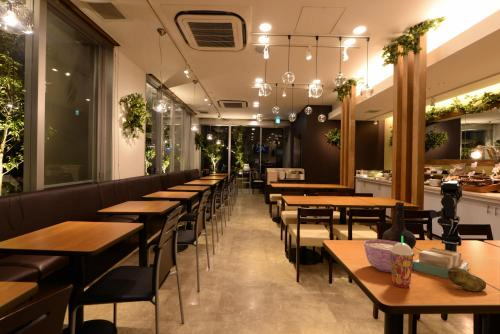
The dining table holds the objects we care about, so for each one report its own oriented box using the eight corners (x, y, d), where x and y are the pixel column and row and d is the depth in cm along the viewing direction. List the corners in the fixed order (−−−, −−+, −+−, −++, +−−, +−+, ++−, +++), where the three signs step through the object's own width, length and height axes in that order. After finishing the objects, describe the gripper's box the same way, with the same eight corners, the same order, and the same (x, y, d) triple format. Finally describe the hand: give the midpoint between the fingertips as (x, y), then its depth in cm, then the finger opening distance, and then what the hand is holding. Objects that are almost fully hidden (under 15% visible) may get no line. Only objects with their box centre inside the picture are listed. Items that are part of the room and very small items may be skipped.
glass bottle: (396, 255, 167) (397, 204, 167) (375, 247, 185) (376, 200, 184) (423, 254, 171) (424, 204, 171) (400, 245, 189) (401, 200, 189)
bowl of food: (418, 276, 135) (419, 250, 135) (375, 276, 134) (375, 250, 133) (394, 262, 155) (395, 239, 155) (356, 262, 153) (356, 239, 153)
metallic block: (433, 264, 154) (433, 247, 154) (460, 271, 145) (461, 253, 145) (418, 270, 145) (419, 252, 145) (446, 277, 135) (447, 258, 135)
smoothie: (385, 281, 128) (387, 233, 128) (404, 281, 129) (406, 233, 129) (397, 289, 120) (398, 238, 120) (417, 289, 121) (418, 238, 121)
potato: (487, 296, 115) (488, 275, 115) (447, 288, 122) (447, 268, 122) (485, 289, 122) (485, 269, 122) (447, 282, 129) (447, 263, 129)
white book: (426, 260, 160) (426, 252, 160) (468, 268, 147) (468, 260, 147) (411, 269, 144) (411, 261, 144) (456, 280, 131) (456, 271, 131)
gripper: (437, 203, 171) (436, 231, 171) (426, 205, 158) (425, 235, 158) (460, 205, 163) (459, 234, 163) (451, 208, 150) (450, 239, 150)
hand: (448, 236), depth 159 cm, fingers open, 9 cm apart
